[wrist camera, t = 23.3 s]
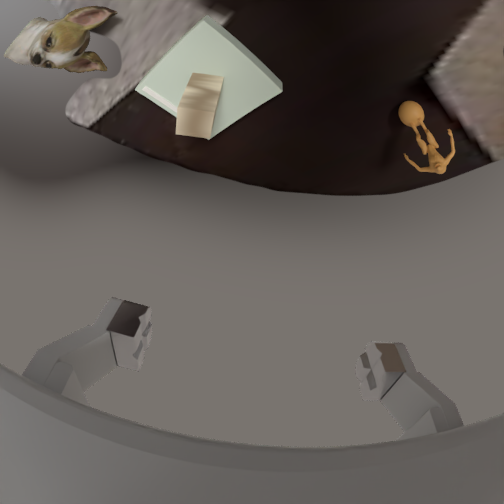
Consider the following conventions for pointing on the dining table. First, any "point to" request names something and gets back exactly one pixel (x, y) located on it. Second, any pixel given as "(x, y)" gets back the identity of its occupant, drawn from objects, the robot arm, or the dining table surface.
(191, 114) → the tan block
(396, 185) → the dining table surface
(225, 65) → the sage board
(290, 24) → the dining table surface
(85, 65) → the ceramic sculpture
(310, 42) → the dining table surface
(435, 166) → the figurine
